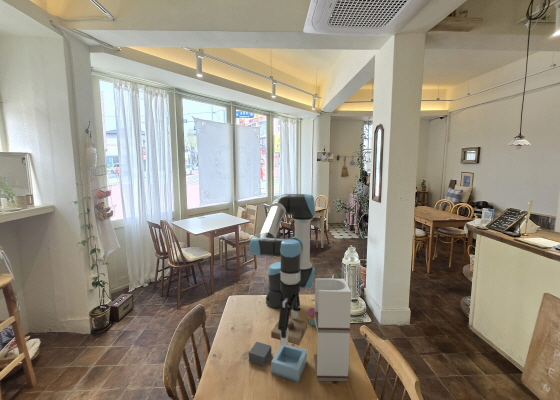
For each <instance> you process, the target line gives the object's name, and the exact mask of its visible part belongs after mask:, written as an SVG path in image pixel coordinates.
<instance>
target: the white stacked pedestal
mask: <svg viewBox="0 0 560 400" xmlns="http://www.w3.org/2000/svg"><path fill="white" fill-rule="evenodd" d="M314 282H315V284H314V288H315V289H314V308H315V323H316V325H315V329H316V334H317V345H316V346H317V350H316V353H317V354H313V364H314V369H315V375H316V381H318V382H319V381H323V382H324V381H325V382H349V366H350V365H349V362H350V335H351V311H352V310H351V309H352V308H351V307H352V290H351V289H350V287H349V285H348V283H347V281H346V279H345V278H330V277H329V278H324V277H323V278H321V277H320V278H318V277H317V278H315V279H314Z"/></svg>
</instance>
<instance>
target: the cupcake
mask: <svg viewBox="0 0 560 400" xmlns="http://www.w3.org/2000/svg"><path fill="white" fill-rule="evenodd" d="M305 313H306V314H305V315H306V319H308V321H309V324H311V325H312V326H316V323H315V307H312V308H309V309H308V310H307V311H306V312H305Z"/></svg>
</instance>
